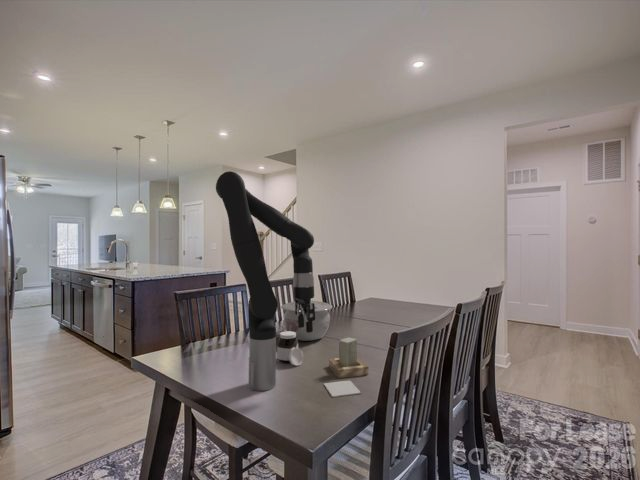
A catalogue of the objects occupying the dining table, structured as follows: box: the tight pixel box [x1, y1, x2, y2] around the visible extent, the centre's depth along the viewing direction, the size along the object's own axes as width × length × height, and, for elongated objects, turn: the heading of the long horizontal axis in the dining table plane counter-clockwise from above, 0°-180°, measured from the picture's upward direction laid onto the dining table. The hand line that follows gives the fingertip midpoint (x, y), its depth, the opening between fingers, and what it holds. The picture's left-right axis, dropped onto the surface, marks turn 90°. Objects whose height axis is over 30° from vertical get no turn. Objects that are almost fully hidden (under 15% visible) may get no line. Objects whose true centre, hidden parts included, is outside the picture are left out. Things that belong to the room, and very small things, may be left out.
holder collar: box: [328, 356, 369, 379], centre depth 130 cm, size 12×12×3 cm
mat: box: [323, 380, 362, 398], centre depth 114 cm, size 10×10×1 cm
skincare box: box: [338, 337, 358, 367], centre depth 130 cm, size 6×4×12 cm
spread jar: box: [276, 330, 304, 367], centre depth 139 cm, size 12×11×12 cm
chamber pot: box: [280, 300, 333, 342], centre depth 175 cm, size 28×28×21 cm
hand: (305, 329), depth 120 cm, fingers open, 8 cm apart
